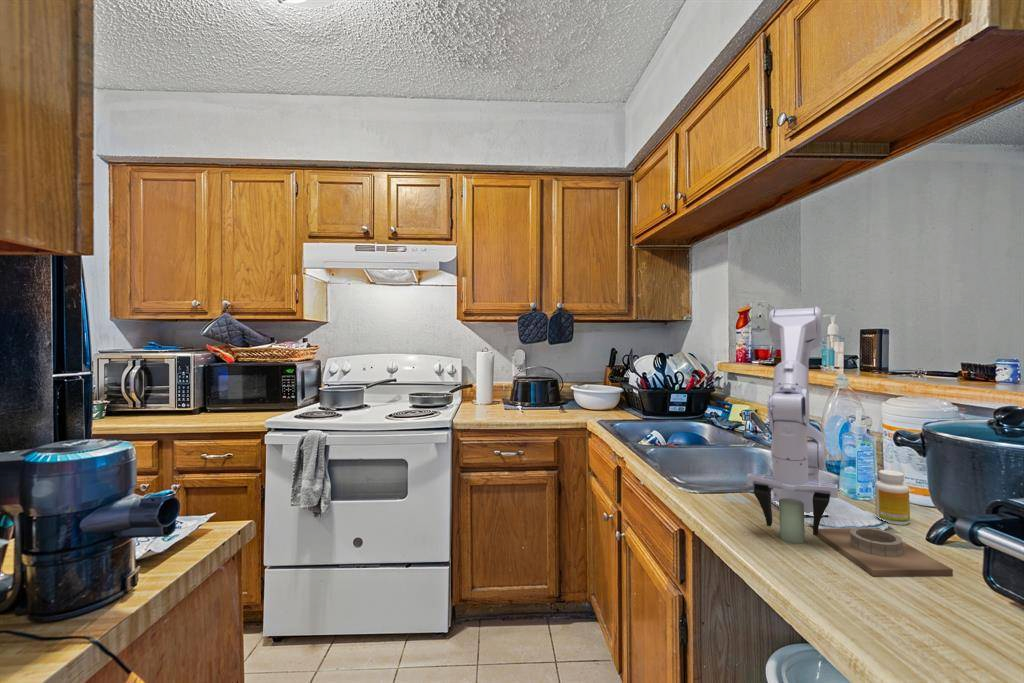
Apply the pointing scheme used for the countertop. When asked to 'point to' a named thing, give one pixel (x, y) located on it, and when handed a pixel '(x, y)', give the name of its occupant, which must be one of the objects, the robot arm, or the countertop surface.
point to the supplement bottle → (892, 498)
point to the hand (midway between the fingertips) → (792, 528)
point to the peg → (791, 520)
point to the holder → (882, 552)
